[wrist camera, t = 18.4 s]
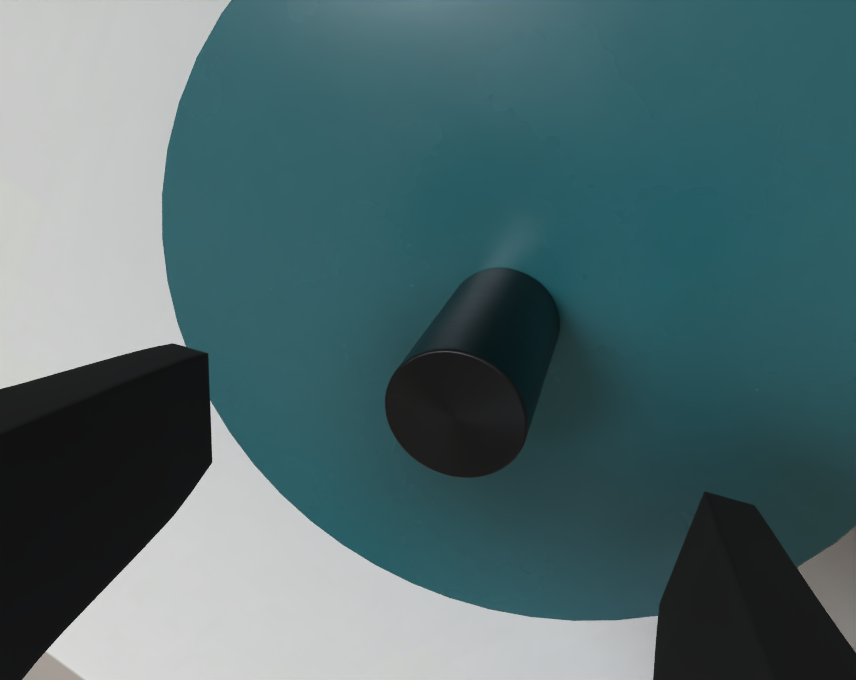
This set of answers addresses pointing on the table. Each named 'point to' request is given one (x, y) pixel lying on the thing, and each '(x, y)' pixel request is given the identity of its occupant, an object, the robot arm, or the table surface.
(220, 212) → the teal disc
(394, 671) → the table surface
